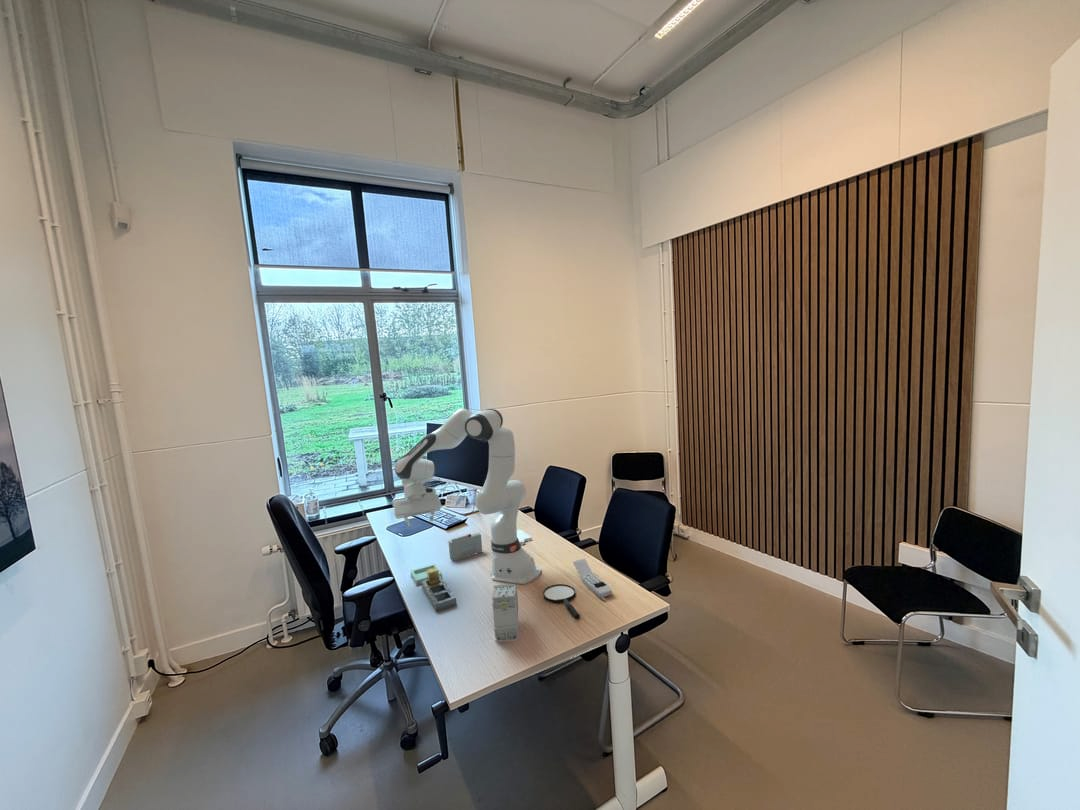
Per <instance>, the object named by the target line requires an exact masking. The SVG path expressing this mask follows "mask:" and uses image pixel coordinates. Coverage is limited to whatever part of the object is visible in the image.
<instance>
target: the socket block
mask: <svg viewBox="0 0 1080 810" xmlns="http://www.w3.org/2000/svg"><path fill="white" fill-rule="evenodd" d="M439 582H440V583H438V584H434V585H431V586H429V585H428V582H427V579H426V580H422V584H421V588H422V590H423V592H424V594H425V595H426V597H427V599H428V601H429V602H430V604H431V606H432V608H433V609H434V611H435V613H438V612H441V611H443V610H447V609H449V608H453V607H455V606H458V604H457V603H458V602H457V597H456V595H454V593H453V592H452V590H451V588H450V587H449V586H448V584H447V583H446V581H445V580H444V579H443V576H442V577H441V575H439Z"/></svg>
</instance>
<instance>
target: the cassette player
mask: <svg viewBox="0 0 1080 810" xmlns="http://www.w3.org/2000/svg"><path fill="white" fill-rule="evenodd" d="M447 543H448V550H449V551H448V552H449V559H451V560H452V561H451V560H450V561H451V562H453V560H454V561H456V560H457V561H458V560H461V559H463V557H464V558H467V557H469V556H468V555H470V556H472V554H474V555H476V554H475V553H477V554H480V553H482V552H483V545H482V534H481V533H480V532H477V533H472V534H471V533H467V534H465V535H461V536H457V537H453V538H451V540H448V542H447ZM481 551H482V552H481ZM479 552H480V553H479ZM466 556H467V557H466Z"/></svg>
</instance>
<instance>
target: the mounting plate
mask: <svg viewBox="0 0 1080 810" xmlns="http://www.w3.org/2000/svg"><path fill="white" fill-rule="evenodd" d="M517 538H518V540H519V542H522V541H523V542H522V543H523V544H524V545H525V543H526V542H525V541H527V542H530V541H532V540H533V539H532V538H533V537H532V536H531V535H529V534H528V533H526V532H525V531H523V530H522V529H517ZM529 540H530V541H529ZM523 544H521V546H523Z"/></svg>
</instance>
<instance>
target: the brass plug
mask: <svg viewBox="0 0 1080 810" xmlns="http://www.w3.org/2000/svg"><path fill="white" fill-rule="evenodd" d="M438 569H439V568H438ZM438 569H437V568H436V567H434V568H431V569H427V570H426V572H427V582H428V585H429V586H431V585H434V584H438V583H440V582H439V571H438Z"/></svg>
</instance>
